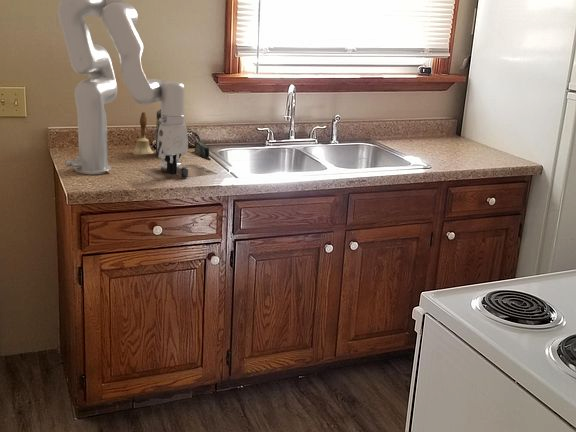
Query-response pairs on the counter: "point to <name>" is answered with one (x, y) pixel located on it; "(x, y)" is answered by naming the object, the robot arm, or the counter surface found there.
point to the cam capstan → (180, 170)
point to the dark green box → (202, 149)
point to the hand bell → (142, 139)
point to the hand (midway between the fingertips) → (171, 173)
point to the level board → (192, 172)
